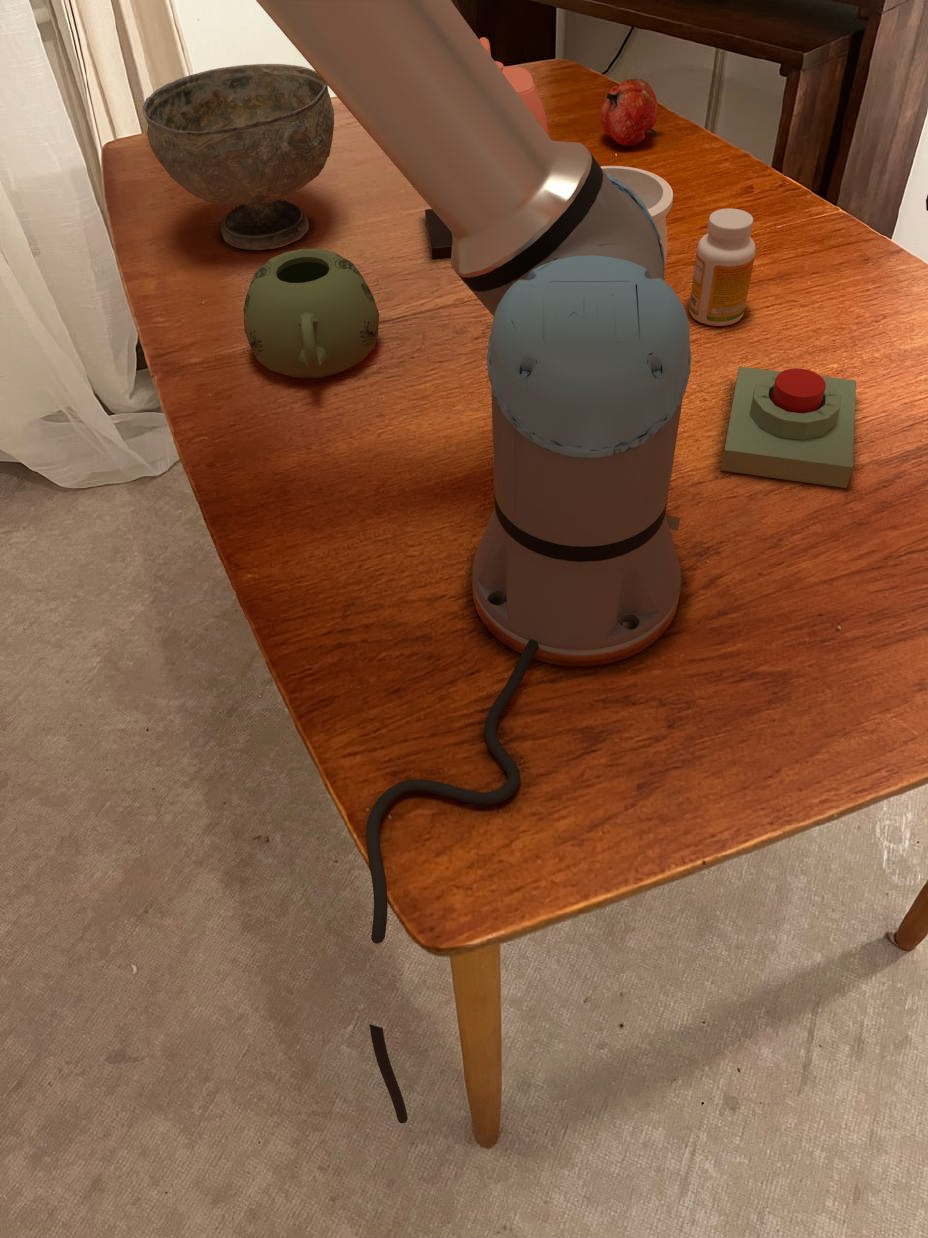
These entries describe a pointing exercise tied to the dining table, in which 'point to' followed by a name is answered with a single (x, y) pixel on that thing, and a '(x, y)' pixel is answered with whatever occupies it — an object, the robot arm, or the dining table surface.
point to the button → (798, 390)
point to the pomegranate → (629, 112)
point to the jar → (647, 194)
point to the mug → (310, 314)
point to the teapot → (522, 87)
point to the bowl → (245, 144)
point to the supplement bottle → (723, 268)
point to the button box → (790, 432)
